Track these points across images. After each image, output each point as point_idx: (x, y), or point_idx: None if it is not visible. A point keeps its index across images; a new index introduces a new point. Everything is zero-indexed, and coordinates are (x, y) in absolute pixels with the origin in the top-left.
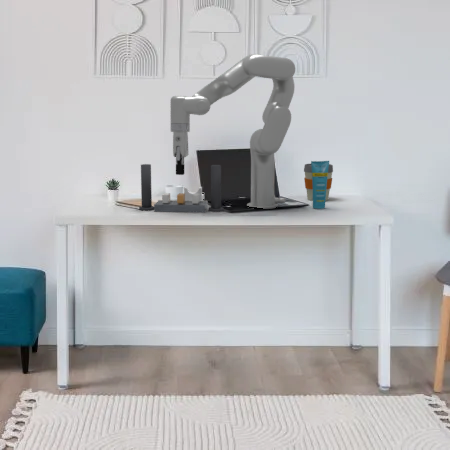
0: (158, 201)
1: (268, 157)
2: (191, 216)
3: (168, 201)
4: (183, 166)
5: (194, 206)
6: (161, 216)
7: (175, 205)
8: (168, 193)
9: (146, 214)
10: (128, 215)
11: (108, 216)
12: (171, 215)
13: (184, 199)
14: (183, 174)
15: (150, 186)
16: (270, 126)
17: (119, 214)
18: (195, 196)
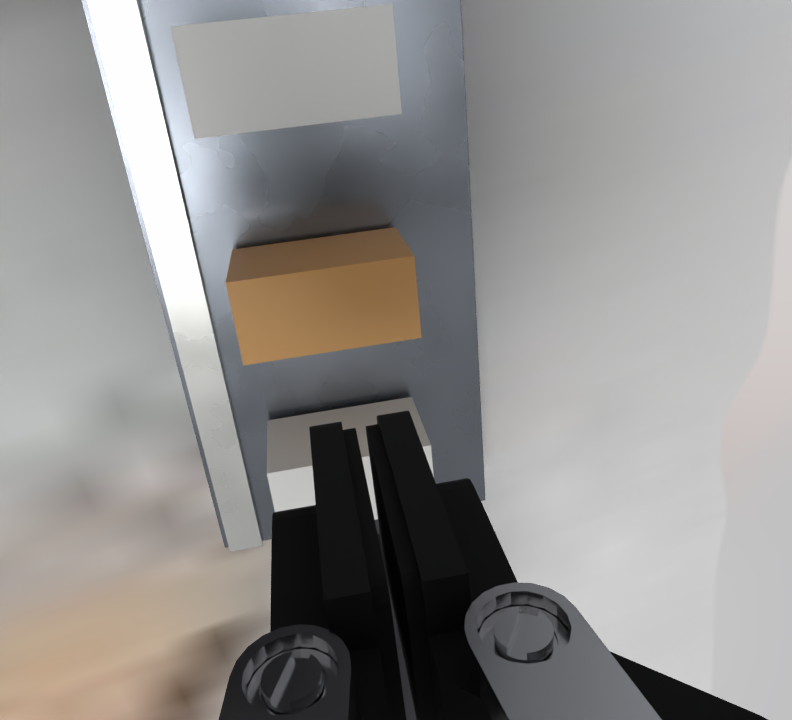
0: None
1: None
2: (701, 17)
3: (399, 406)
4: (455, 541)
5: (458, 47)
6: (697, 324)
7: (474, 292)
8: (294, 485)
9: (604, 471)
10: (653, 570)
11: (693, 661)
12: (646, 251)
13: (284, 251)
14: (407, 412)
15: (413, 709)
16: None
17: (614, 636)
18: (392, 55)
